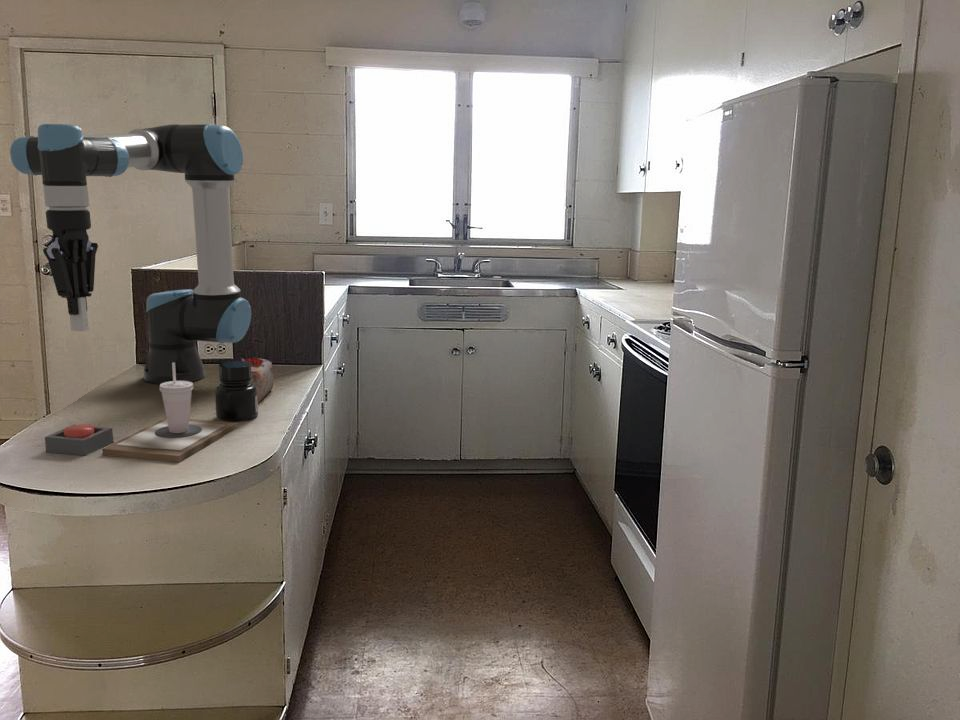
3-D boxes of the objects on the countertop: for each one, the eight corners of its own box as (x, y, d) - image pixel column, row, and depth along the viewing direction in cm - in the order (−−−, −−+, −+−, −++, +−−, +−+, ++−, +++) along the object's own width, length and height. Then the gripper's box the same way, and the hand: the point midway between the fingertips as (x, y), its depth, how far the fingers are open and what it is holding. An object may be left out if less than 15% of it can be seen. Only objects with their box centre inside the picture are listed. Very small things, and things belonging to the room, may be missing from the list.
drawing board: (168, 422, 172) (167, 415, 172) (236, 428, 169) (236, 421, 169) (102, 454, 151) (102, 447, 151) (179, 462, 148) (179, 454, 148)
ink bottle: (267, 416, 179) (265, 364, 176) (236, 425, 171) (233, 371, 169) (238, 408, 184) (236, 358, 181) (206, 417, 177) (204, 364, 174)
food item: (262, 405, 188) (261, 364, 186) (228, 404, 188) (226, 363, 186) (276, 390, 201) (274, 352, 199) (244, 389, 201) (242, 351, 199)
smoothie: (184, 423, 166) (180, 358, 163) (202, 429, 163) (198, 363, 160) (155, 430, 161) (151, 363, 158) (173, 437, 158) (169, 368, 155)
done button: (77, 434, 158) (75, 423, 157) (100, 437, 157) (99, 425, 156) (58, 442, 153) (57, 431, 152) (82, 445, 152) (81, 433, 151)
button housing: (75, 438, 160) (74, 424, 159) (113, 442, 158) (112, 427, 158) (46, 451, 152) (44, 436, 151) (85, 455, 150) (84, 440, 150)
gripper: (72, 206, 158) (84, 323, 164) (25, 209, 146) (39, 335, 151) (106, 207, 157) (117, 325, 162) (61, 210, 144) (75, 337, 150)
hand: (79, 330), depth 157 cm, fingers closed
